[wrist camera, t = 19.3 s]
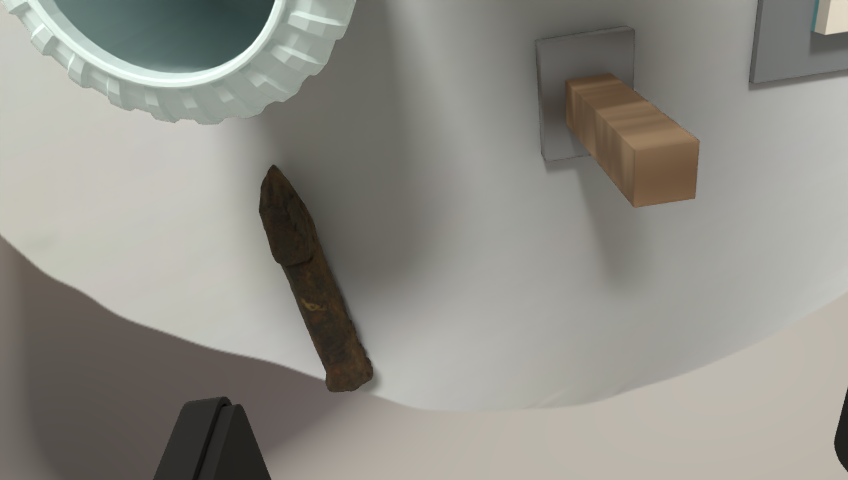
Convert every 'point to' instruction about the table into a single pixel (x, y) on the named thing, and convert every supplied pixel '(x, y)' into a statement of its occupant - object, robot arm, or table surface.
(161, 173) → the table surface
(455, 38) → the table surface
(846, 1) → the tile
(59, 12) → the vase
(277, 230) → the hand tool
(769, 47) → the mat
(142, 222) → the table surface
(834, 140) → the table surface
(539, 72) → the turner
